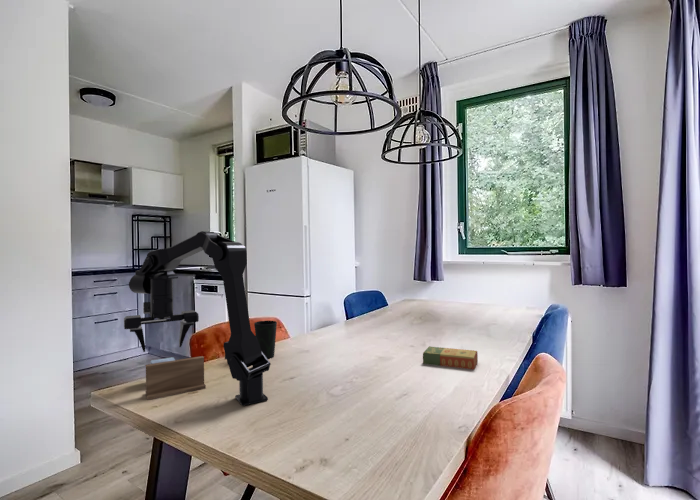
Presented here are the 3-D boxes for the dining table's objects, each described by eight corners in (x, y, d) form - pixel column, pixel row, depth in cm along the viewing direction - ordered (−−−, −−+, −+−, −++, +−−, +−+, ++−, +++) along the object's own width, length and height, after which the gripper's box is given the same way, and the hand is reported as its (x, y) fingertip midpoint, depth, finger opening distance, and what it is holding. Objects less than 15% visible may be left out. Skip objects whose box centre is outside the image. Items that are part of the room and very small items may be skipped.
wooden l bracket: (205, 388, 102) (205, 358, 102) (147, 399, 95) (146, 368, 95) (201, 382, 107) (201, 354, 107) (145, 393, 99) (145, 363, 99)
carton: (474, 371, 115) (474, 357, 115) (422, 364, 122) (422, 351, 122) (477, 363, 122) (477, 350, 122) (428, 357, 129) (428, 345, 129)
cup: (271, 360, 127) (271, 325, 127) (250, 359, 129) (250, 324, 129) (280, 354, 135) (280, 320, 135) (260, 353, 136) (260, 320, 136)
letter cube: (176, 383, 107) (176, 362, 107) (153, 387, 104) (152, 366, 104) (173, 377, 112) (173, 357, 112) (150, 381, 109) (150, 360, 109)
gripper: (191, 290, 120) (192, 339, 120) (122, 294, 110) (123, 348, 110) (198, 293, 110) (199, 346, 110) (124, 298, 100) (124, 357, 100)
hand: (162, 349), depth 108 cm, fingers open, 9 cm apart
